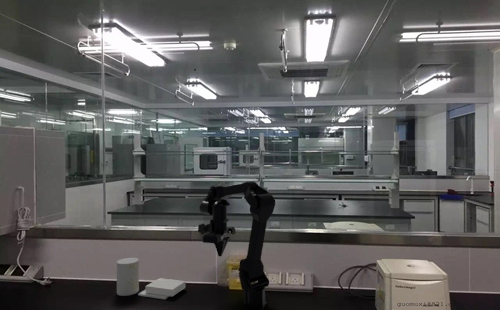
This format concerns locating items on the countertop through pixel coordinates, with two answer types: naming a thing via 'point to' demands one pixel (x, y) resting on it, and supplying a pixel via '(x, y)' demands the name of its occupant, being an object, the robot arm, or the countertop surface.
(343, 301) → the countertop surface
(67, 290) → the countertop surface
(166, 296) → the mat
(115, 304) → the countertop surface
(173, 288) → the white rectangular block
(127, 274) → the grey upright cylinder
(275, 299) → the countertop surface
